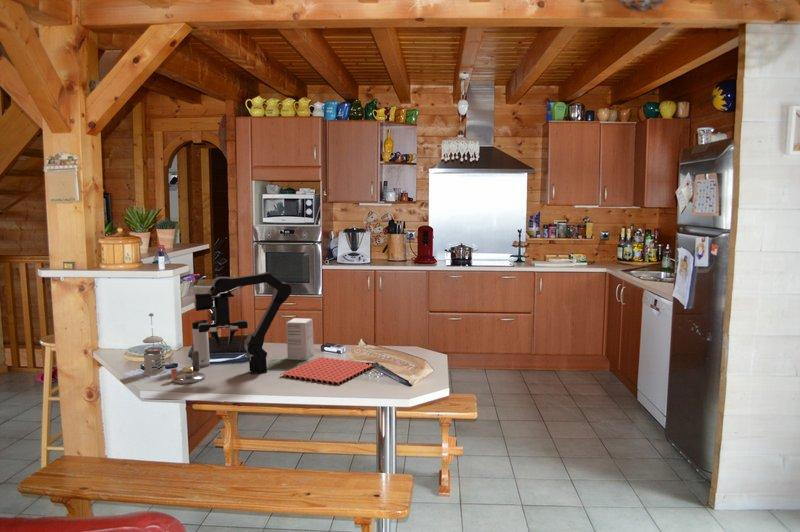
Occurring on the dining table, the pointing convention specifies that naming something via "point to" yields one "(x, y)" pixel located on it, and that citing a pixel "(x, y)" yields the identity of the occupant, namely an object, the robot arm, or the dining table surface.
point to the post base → (193, 380)
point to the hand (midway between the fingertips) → (224, 346)
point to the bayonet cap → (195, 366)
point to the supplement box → (300, 339)
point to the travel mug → (201, 344)
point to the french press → (156, 356)
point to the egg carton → (327, 370)
